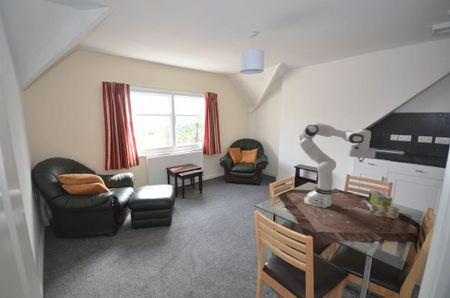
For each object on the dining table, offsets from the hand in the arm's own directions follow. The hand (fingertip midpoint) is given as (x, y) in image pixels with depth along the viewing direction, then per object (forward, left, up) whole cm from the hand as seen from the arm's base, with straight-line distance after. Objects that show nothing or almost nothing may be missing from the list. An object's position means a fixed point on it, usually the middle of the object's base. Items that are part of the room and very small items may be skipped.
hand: (360, 162), depth 185 cm
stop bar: (+10, -32, -34) cm, 48 cm away
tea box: (+10, -23, -34) cm, 42 cm away
